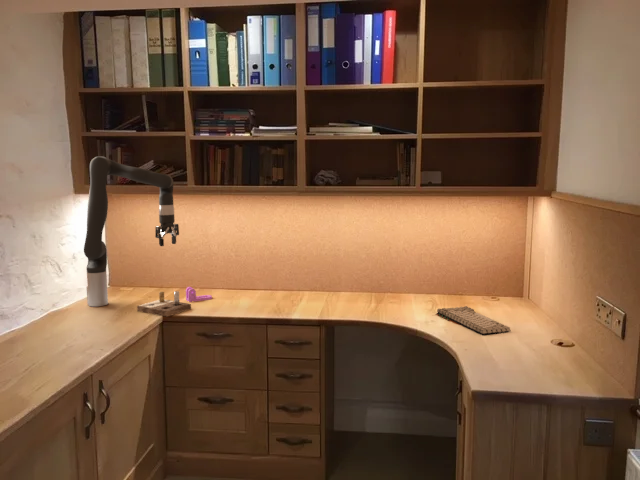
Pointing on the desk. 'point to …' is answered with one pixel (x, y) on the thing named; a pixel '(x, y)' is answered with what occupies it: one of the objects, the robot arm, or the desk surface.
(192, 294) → the bracket
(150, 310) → the pin board
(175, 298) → the grey metal pin
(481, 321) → the mechanical keyboard
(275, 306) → the desk surface
